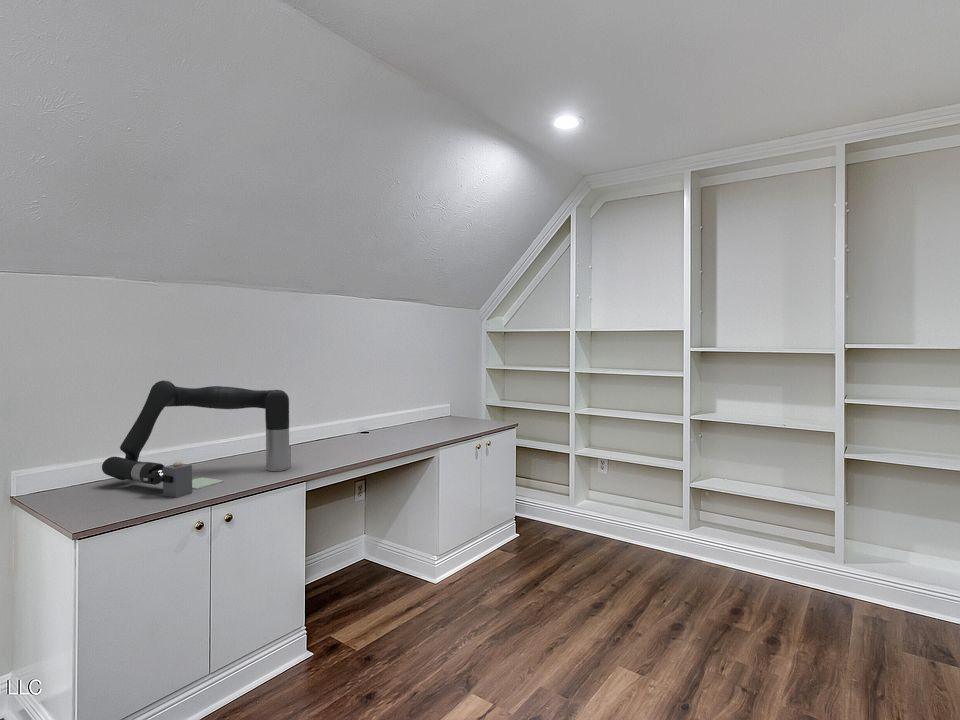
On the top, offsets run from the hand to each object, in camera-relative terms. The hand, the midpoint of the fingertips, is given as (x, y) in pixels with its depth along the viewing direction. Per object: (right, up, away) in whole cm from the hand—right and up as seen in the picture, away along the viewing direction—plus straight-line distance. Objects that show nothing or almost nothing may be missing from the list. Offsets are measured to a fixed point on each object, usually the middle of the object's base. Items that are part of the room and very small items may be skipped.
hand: (181, 477), depth 193 cm
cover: (-2, -6, +1) cm, 6 cm away
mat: (-1, -5, +15) cm, 16 cm away
